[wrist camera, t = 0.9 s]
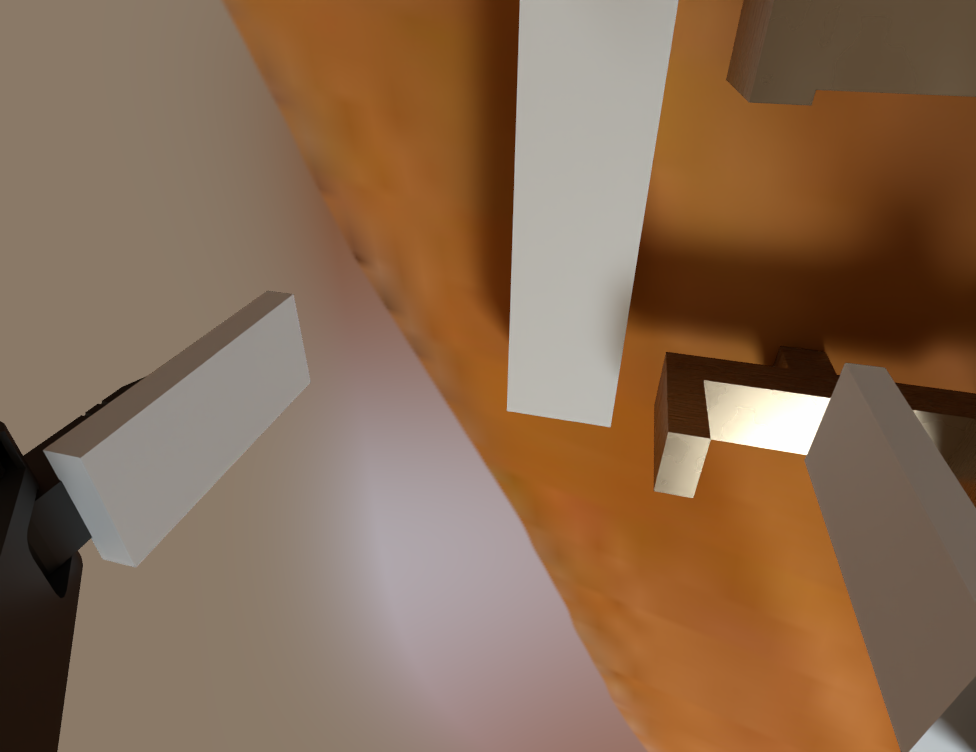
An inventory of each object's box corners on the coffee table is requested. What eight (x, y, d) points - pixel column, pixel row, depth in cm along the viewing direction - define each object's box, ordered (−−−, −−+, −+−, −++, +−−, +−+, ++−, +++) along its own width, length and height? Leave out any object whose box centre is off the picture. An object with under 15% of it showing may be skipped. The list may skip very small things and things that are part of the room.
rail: (547, -38, 22) (521, -49, 18) (681, -39, 21) (686, -52, 17) (526, 359, 32) (507, 410, 28) (617, 371, 31) (610, 427, 26)
